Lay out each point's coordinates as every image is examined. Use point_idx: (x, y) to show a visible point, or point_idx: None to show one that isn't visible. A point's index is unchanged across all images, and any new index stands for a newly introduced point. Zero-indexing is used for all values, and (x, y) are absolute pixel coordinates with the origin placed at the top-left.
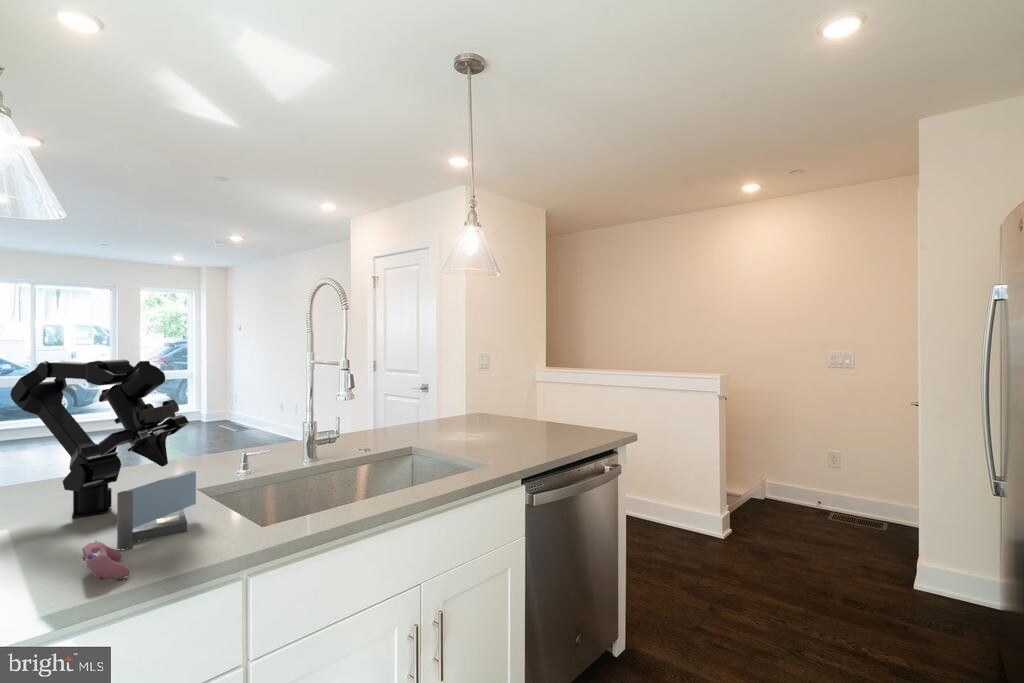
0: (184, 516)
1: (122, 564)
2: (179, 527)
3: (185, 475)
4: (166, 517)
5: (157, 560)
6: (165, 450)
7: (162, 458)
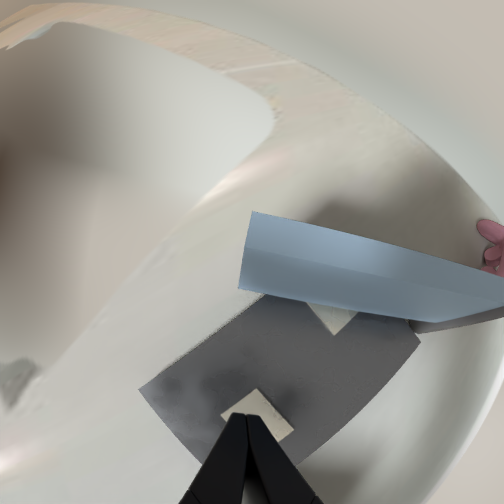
0: None
1: (491, 222)
2: None
3: (319, 229)
4: (309, 322)
5: (439, 217)
6: (205, 482)
7: (266, 446)
